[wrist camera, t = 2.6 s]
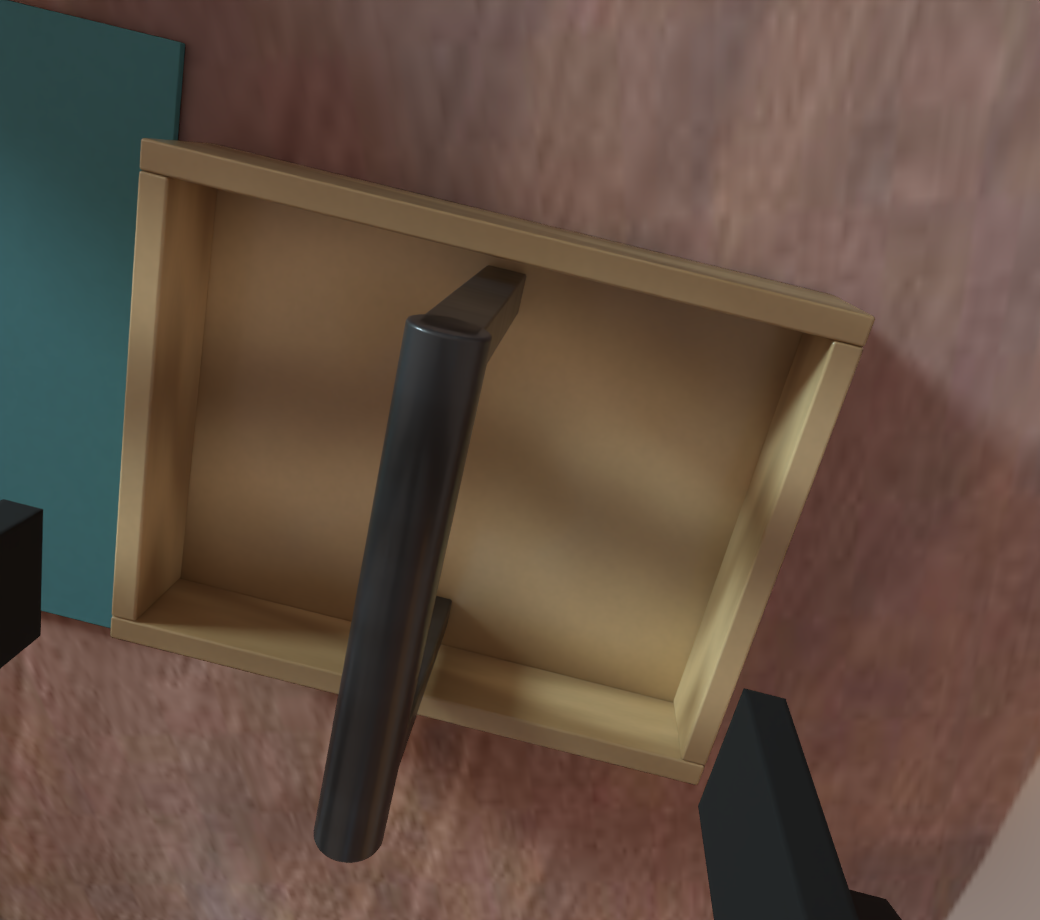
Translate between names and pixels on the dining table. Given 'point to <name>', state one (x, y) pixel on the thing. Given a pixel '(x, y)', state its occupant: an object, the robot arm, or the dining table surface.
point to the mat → (72, 276)
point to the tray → (551, 470)
